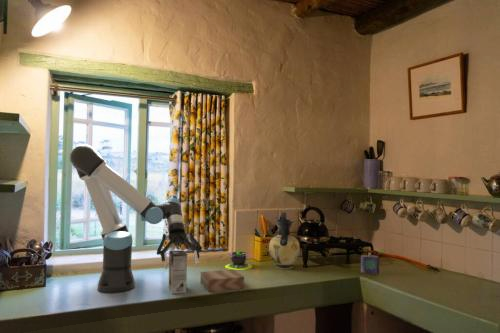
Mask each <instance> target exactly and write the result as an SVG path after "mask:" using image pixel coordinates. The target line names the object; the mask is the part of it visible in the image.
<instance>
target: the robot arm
mask: <svg viewBox="0 0 500 333" xmlns="http://www.w3.org/2000/svg"><path fill="white" fill-rule="evenodd" d="M69 161H70V163H71V165H72V166H73V168H75V170H76V172H77V175H78V178H79V179H80V180H82V181H84V184H85V186H86V189H87V190H88V193H89V196H90V199H91V202H92V204H93V208H94V210H95V212H96V215H97V217H98V220H99V223H100V225H101V228H102V230H101V233H100V236H101V239H102V240H103V241H102V244H103V250H102V251H103V252H102V253H103V254H102V271H101V274H100V276H99V279H98V282H97V291H99V292H103V293H111V294H112V293H121V292H126V291H130V290H132V289H134V288H135V287H136V280H135V277H134V274H133V271H132V253H133V251H132V250H133V235H132V233H130V232H129V230H128V227H127V224H126V223H124V222H122V220H121V217H120V215H119V213H118V210H117V208H116V204H115V202H114V199H113V197H112V194H113V195H115V196H116V197H118V198H119V199H120V200H121V201H122V202H124V204H126V205H128V206H129V207H130V208H131V209H132V210H133V211H135V212H136V213H137V214H139V215H140V220H141V221H142V222H147V223H149V224H151V225H157V224H160V223H161V222H162V220H166V222H167V228H168V230H167V231H168V234H167V235H166V233H163V234H162V237H161V238H162V239H161V241H160V244H159V246H158V248H157V250H156V255H159V256H160V257H161V262H164V270H168V267H169V263H168V256H167V252H168V250H169V249H170V248H171V247H172V245H182V244H183V245H184V246H186V247H187V248H188V249H190V250H191V251H193V258H194V263H195V267H198V265H199V259H200V252H201V251H202V249H203V247H202V245H201V244H200V243H199V241H197V239H196V238H195V237H194V235H193V233H192V232H190V233H188V234H187V233H186V230H185V225H184V224H185V223H184V219H183V214H182V206H181V203H180V200H179V199H178V198H175V197H170V198H168V199H166V200H165V202H164V203H161V204H155V203H154V202H152V200H150V199H149V198H148V197H146V195H144V194H143V193H141V192H140V191H139V190H138V189H137V188H136V187H134V186H133V185H132V184H130V182H128V181H127V180H125V178H123V177H122V176H121V175H120V174H118V173H117V172H116V171H115V170H114V169H113V168H111V167H110V166H109V165H108V164H107V161H106V160H105V159H104V158H103V157H102V155H101V152H99V150H98V149H96V148H94V147H93V146H91V145H89V144H81V145H76V147H74V148H73V149H72V150H71V152H70V155H69ZM167 240H169V241H168V242H167V244H166V245H165V246H164V244H165V242H166V241H167ZM163 247H164V248H163Z"/></svg>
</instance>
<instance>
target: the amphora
mask: <svg viewBox="0 0 500 333" xmlns="http://www.w3.org/2000/svg"><path fill="white" fill-rule="evenodd" d="M273 222H275V224H276V226H277V228H278V233H277V235H276V236H274V237H272V238H271V239H270V241H269V242H268V243H269V244H268V251H269V254H270V258H271V259H272V260H273V262H275V264H276V265H275V267H276V268H277V269H281V270H289V269H293V268H294V266H293V264H294V262H296V260H297V259H298V257H299V254H300V247H301V246H300V242H299V240H298V239H297V238H296V237H294V236H292V234H291V230H290V229H291V227H292V226H293V225H292V224H293V223H295V220H294V219H287V213H286V212H284V211H283V212H281V214H280V219H274V220H273Z"/></svg>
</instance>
